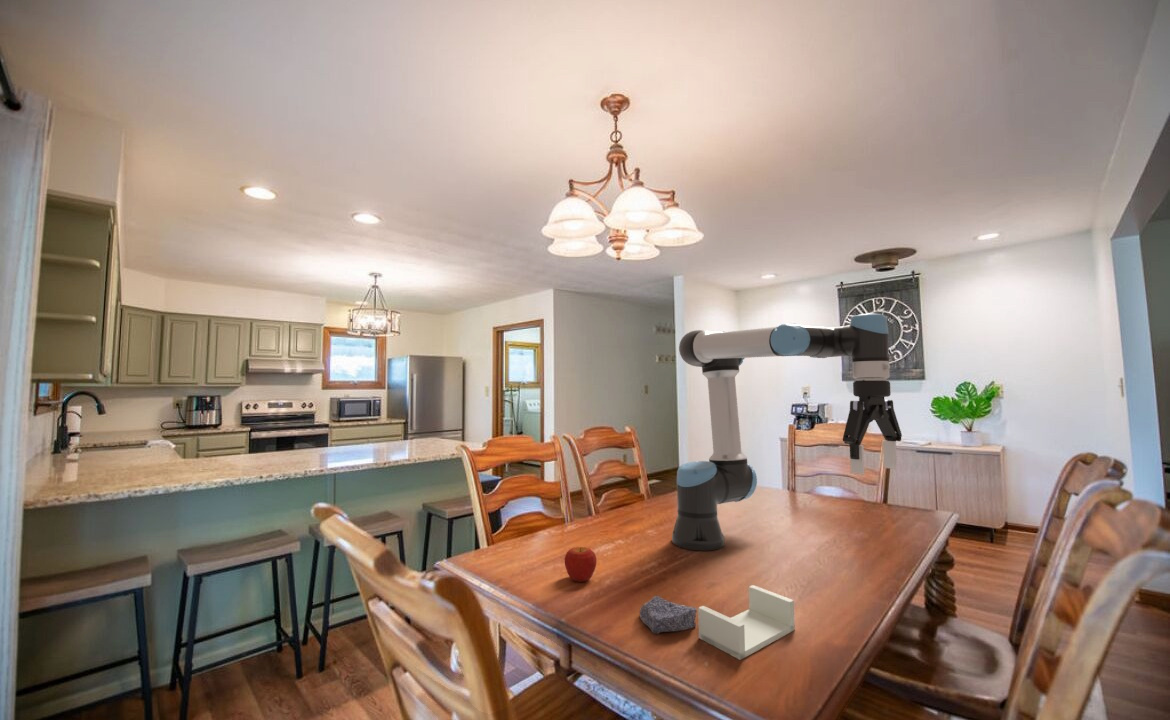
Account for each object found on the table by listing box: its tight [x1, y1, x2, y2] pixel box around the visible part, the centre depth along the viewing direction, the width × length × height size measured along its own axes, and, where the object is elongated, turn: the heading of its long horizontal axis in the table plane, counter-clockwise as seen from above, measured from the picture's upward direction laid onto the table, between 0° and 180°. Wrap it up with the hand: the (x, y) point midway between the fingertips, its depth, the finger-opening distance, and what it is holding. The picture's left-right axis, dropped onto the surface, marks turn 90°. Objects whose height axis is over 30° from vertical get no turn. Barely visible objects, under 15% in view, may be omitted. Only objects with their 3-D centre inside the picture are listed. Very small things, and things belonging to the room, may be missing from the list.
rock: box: [639, 595, 698, 635], centre depth 95 cm, size 12×5×10 cm
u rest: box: [697, 584, 796, 661], centre depth 90 cm, size 9×17×6 cm, turn 126°
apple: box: [564, 546, 597, 583], centre depth 116 cm, size 8×8×8 cm
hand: (874, 471), depth 111 cm, fingers open, 13 cm apart
